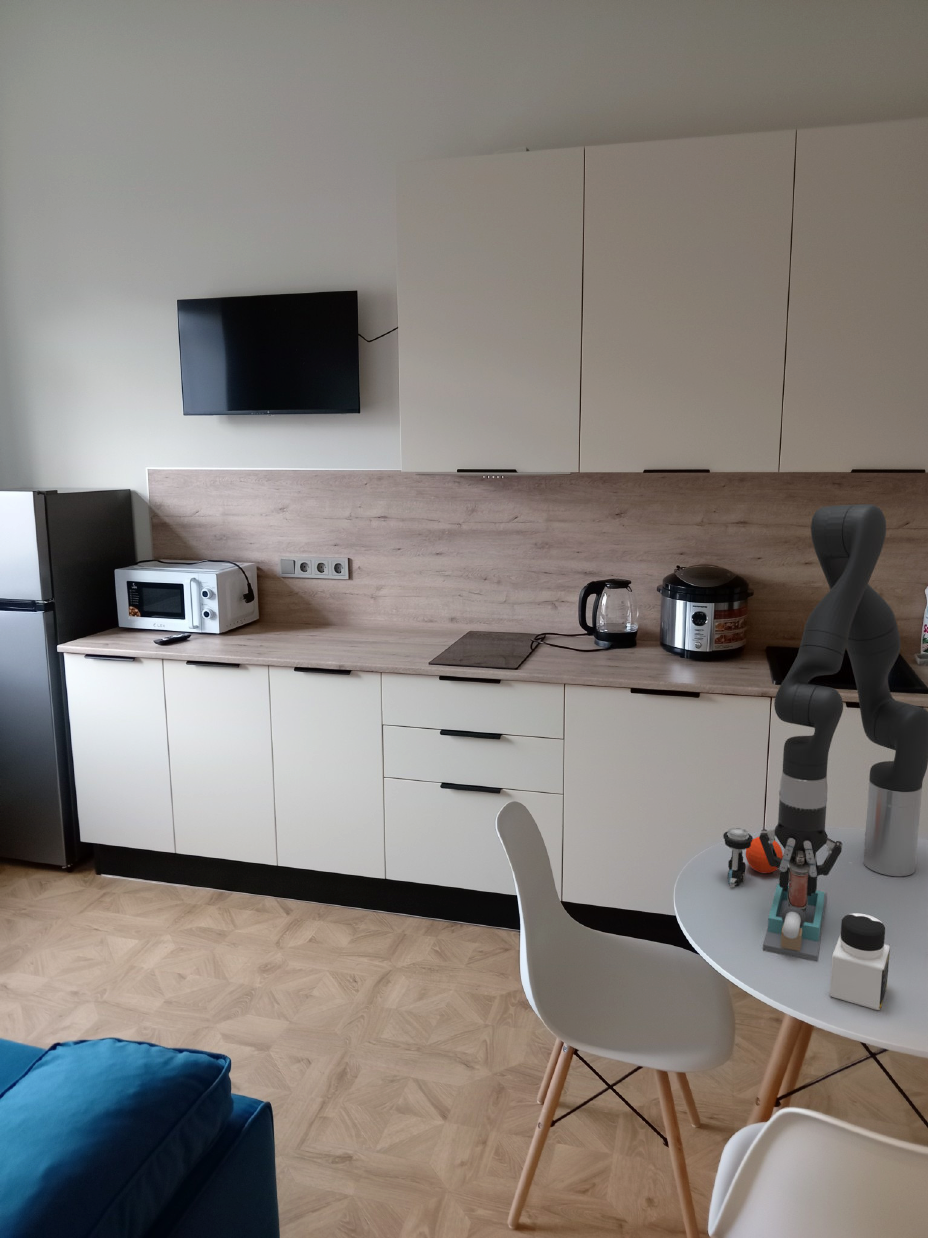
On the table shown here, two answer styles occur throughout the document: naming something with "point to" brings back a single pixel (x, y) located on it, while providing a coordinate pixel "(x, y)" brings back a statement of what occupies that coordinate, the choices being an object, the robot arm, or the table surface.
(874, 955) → the medicine bottle
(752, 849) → the clementine
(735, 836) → the push button
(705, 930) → the table surface
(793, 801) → the robot arm
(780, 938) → the shaft cradle
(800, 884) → the lighter
